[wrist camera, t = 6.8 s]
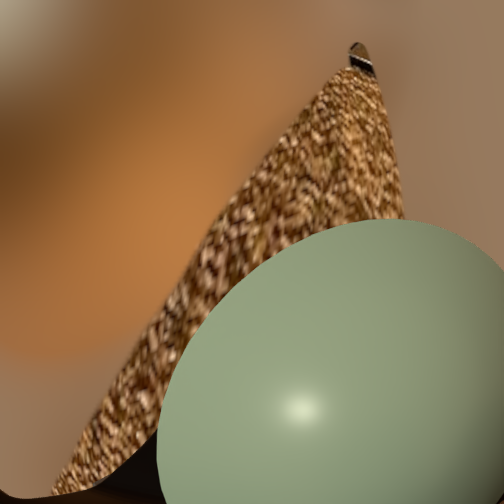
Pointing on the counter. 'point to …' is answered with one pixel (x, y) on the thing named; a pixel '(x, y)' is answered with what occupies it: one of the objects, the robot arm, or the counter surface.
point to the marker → (345, 377)
